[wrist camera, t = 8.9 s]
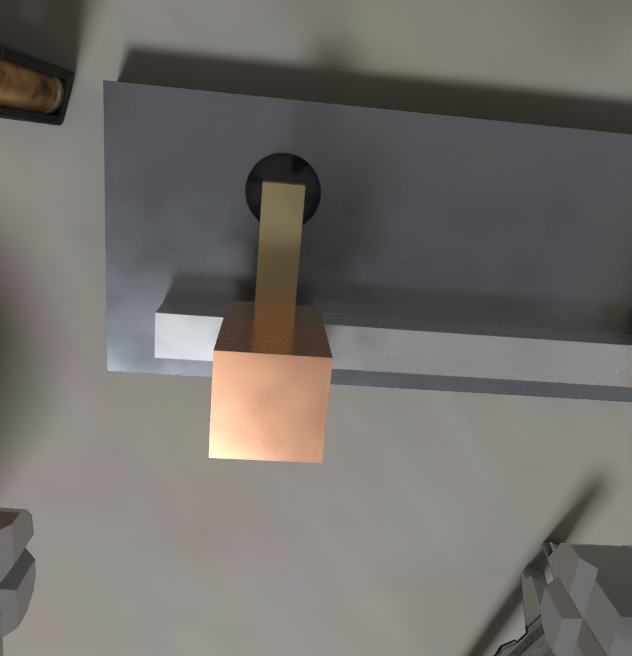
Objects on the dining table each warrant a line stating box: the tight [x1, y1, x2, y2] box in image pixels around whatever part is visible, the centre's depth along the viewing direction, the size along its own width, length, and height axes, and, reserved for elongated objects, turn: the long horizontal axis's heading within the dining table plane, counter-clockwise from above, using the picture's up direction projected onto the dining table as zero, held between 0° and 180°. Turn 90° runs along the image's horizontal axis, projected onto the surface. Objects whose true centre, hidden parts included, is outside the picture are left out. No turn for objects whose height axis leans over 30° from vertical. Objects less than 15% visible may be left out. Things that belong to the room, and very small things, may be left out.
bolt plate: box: [103, 80, 632, 402], centre depth 20 cm, size 26×10×5 cm, turn 85°
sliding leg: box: [209, 180, 333, 463], centre depth 18 cm, size 3×7×6 cm, turn 175°
